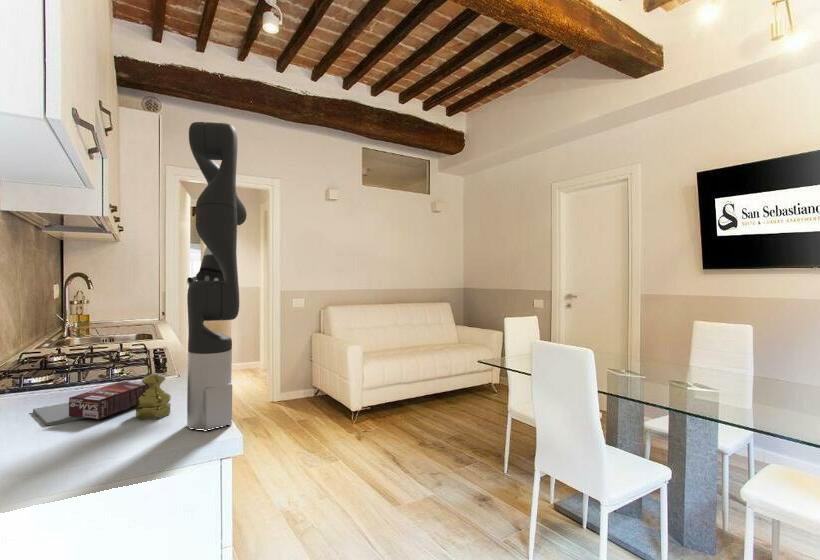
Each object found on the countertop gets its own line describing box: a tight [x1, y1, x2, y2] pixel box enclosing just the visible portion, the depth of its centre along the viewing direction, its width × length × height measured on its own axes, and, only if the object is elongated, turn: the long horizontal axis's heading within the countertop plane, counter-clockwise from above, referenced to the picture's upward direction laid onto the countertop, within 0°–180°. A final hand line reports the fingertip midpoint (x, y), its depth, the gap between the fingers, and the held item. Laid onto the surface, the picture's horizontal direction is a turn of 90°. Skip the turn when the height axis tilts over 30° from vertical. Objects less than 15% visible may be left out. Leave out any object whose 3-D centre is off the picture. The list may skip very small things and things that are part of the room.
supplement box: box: [68, 380, 147, 420], centre depth 106 cm, size 9×5×16 cm
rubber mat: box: [32, 402, 129, 427], centre depth 106 cm, size 14×16×1 cm
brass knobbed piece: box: [135, 373, 172, 420], centre depth 104 cm, size 7×7×10 cm
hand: (202, 312), depth 123 cm, fingers closed
